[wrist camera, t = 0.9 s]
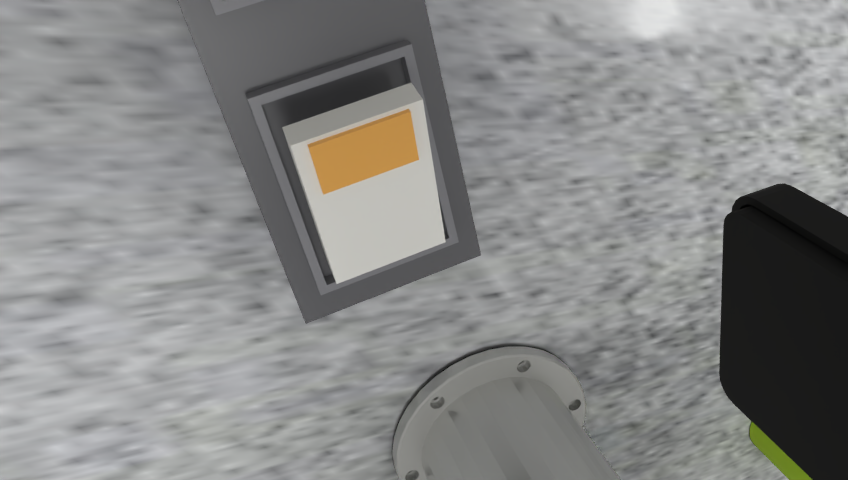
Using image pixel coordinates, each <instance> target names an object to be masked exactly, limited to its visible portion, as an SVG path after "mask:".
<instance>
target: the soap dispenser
mask: <svg viewBox="0 0 848 480" xmlns="http://www.w3.org/2000/svg"><path fill="white" fill-rule="evenodd" d="M750 439H751V441H752V442H753V444H754V445H755V446H756V447H757V448H758V449H759V450H760V451H761V452H762V453H763V454H764V455H765V456H766V457H767V458H768V459H769V460H770V461H771V462H772V463H773V464H774V465H775V466H776V467H777V468H778V469H779V470H780V471H781V472H782V473H783V474H784V475H785V476H786V477H787V478H788V479H789V480H812V479H811V478H810V477H809V476H808V475H807V474H806V473H805V472H804V471H803V470H802V469H801V468H800V467H799V466H798V465H797V464H796V463H795V462H794V461H793V460H792V459H791V458H789V457H788V456H787V455H786V454H785V453H784V452H783V451H782V450H781V449H780V448H779V447H778V446H777V445H776V444H775V443H774V442H773V441H772V440H771V439H770V438H769V437H768V436H767V435H766V434H765V433H764V432H762V431H761V430H760V429H759V428H758V427H757V426H756V425H755V424H754V423H753V422H752V423H751V426H750Z"/></svg>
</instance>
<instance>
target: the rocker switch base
mask: <svg viewBox="0 0 848 480" xmlns="http://www.w3.org/2000/svg"><path fill="white" fill-rule="evenodd" d="M177 1H178V3H179V6H180V8H181V11H182V13H183V16H184V18H185V21H186V23H187V26H188V28H189V31H190V33H191V36H192V38H193V41H194V43H195V46H196V48H197V51H198V53H199V56H200V58H201V61H202V64H203V66H204V69H205V71H206V74H207V76H208V79H209V81H210V84H211V86H212V89H213V91H214V94H215V96H216V99H217V101H218V104H219V106H220V109H221V111H222V114H223V116H224V119H225V121H226V124H227V126H228V129H229V131H230V134H231V137H232V139H233V142H234V144H235V147H236V149H237V152H238V154H239V157H240V159H241V162H242V164H243V167H244V169H245V172H246V174H247V177H248V179H249V182H250V184H251V187H252V189H253V192H254V194H255V197H256V199H257V202H258V205H259V207H260V210H261V212H262V215H263V217H264V220H265V222H266V225H267V227H268V230H269V232H270V235H271V237H272V240H273V242H274V245H275V247H276V250H277V252H278V255H279V257H280V260H281V262H282V265H283V267H284V270H285V272H286V275H287V278H288V280H289V283H290V285H291V288H292V290H293V293H294V295H295V298H296V300H297V303H298V305H299V308H300V310H301V313H302V315H303V318H304V320H305V323H309V322H311V321H314V320H316V319H319V318H321V317H324V316H327V315H329V314H332V313H334V312H337V311H339V310H342V309H344V308H347V307H350V306H352V305H355V304H357V303H360V302H362V301H365V300H367V299H370V298H373V297H375V296H378V295H380V294H383V293H385V292H388V291H390V290H393V289H396V288H398V287H401V286H403V285H406V284H408V283H411V282H413V281H416V280H419V279H421V278H424V277H426V276H429V275H431V274H434V273H436V272H439V271H442V270H444V269H447V268H449V267H452V266H454V265H457V264H459V263H462V262H465V261H467V260H470V259H472V258H475V257H477V256H480V255H481V253H480V249H479V244H478V240H477V235H476V231H475V226H474V222H473V217H472V212H471V208H470V203H469V199H468V194H467V190H466V185H465V181H464V176H463V172H462V167H461V163H460V158H459V154H458V149H457V145H456V140H455V136H454V131H453V127H452V122H451V118H450V113H449V109H448V104H447V100H446V95H445V91H444V86H443V82H442V77H441V73H440V68H439V64H438V59H437V54H436V50H435V45H434V41H433V36H432V32H431V27H430V23H429V18H428V14H427V9H426V5H425V0H177ZM409 83H412V84H413V86H414V87H415V89H416V90H417V92H418V93H419V94H420V96H421V97H422V99H423V104H424V110H425V116H426V122H427V129H428V135H429V141H430V147H431V153H432V160H433V166H434V172H435V178H436V185H437V191H438V197H439V203H440V210H441V216H442V222H443V228H444V235H445V241H446V242H445V243H442V244H440V245H437V246H434V247H432V248H429V249H427V250H424V251H421V252H419V253H416V254H414V255H411V256H408V257H406V258H403V259H401V260H398V261H396V262H393V263H390V264H388V265H385V266H383V267H380V268H377V269H375V270H372V271H370V272H367V273H364V274H362V275H359V276H357V277H354V278H351V279H349V280H346V281H344V282H341V283H338V284H336V281H335V279H334V276H333V274H332V272H331V269H330V267H329V264H328V261H327V258H326V255H325V252H324V250H323V247H322V244H321V241H320V238H319V235H318V232H317V229H316V226H315V223H314V220H313V217H312V214H311V211H310V208H309V205H308V202H307V199H306V196H305V193H304V190H303V188H302V185H301V182H300V179H299V176H298V173H297V170H296V167H295V164H294V161H293V158H292V155H291V152H290V149H289V146H288V143H287V140H286V137H285V134H284V131H283V128H282V127H284V126H287V125H290V124H293V123H296V122H299V121H302V120H305V119H307V118H310V117H313V116H316V115H319V114H322V113H325V112H328V111H331V110H333V109H336V108H339V107H342V106H345V105H348V104H351V103H354V102H357V101H359V100H362V99H365V98H368V97H371V96H374V95H377V94H380V93H383V92H385V91H388V90H391V89H394V88H397V87H400V86H403V85H406V84H409Z"/></svg>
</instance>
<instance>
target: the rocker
mask: <svg viewBox="0 0 848 480" xmlns="http://www.w3.org/2000/svg"><path fill="white" fill-rule="evenodd" d="M282 128H283V131H284V134H285V137H286V140H287V143H288V146H289V149H290V152H291V155H292V158H293V161H294V164H295V167H296V170H297V173H298V176H299V179H300V182H301V185H302V188H303V190H304V193H305V196H306V199H307V202H308V205H309V208H310V211H311V214H312V217H313V220H314V223H315V226H316V229H317V232H318V235H319V238H320V241H321V244H322V247H323V250H324V252H325V255H326V258H327V261H328V264H329V267H330V269H331V272H332V274H333V276H334V279H335V281H336V284H338V283H341V282H344V281H346V280H349V279H351V278H354V277H357V276H359V275H362V274H364V273H367V272H370V271H372V270H375V269H377V268H380V267H383V266H385V265H388V264H390V263H393V262H396V261H398V260H401V259H403V258H406V257H408V256H411V255H414V254H416V253H419V252H421V251H424V250H427V249H429V248H432V247H434V246H437V245H440V244H442V243H445V242H446V241H445V235H444V228H443V222H442V216H441V210H440V203H439V197H438V191H437V185H436V178H435V172H434V166H433V160H432V153H431V147H430V141H429V135H428V129H427V122H426V116H425V110H424V104H423V99H422V97H421V96H420V94H419V93H418V92H417V90H416V89H415V87H414V86H413V84H412V83H409V84H406V85H403V86H400V87H397V88H394V89H391V90H388V91H385V92H383V93H380V94H377V95H374V96H371V97H368V98H365V99H362V100H359V101H357V102H354V103H351V104H348V105H345V106H342V107H339V108H336V109H333V110H331V111H328V112H325V113H322V114H319V115H316V116H313V117H310V118H307V119H305V120H302V121H299V122H296V123H293V124H290V125H287V126H284V127H282Z"/></svg>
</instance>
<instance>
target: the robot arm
mask: <svg viewBox="0 0 848 480" xmlns="http://www.w3.org/2000/svg"><path fill="white" fill-rule="evenodd" d="M719 374H720V381H721V384H722V387H723V389H724V391H725V393H726V395H727V396H728V398H729V399H730V400H731V401H732V403H733V404H734V405H735V406H737V407H738V408H739V409H740V410H741V411H742V412H743V413H744V414H745V415H746V416H747V417H748V418H749V419H750V420H751V421H752V422H753V423H754V424H755V425H756V426H757V427H758V428H759V429H760V430H761V431H762V432H764V433H765V434H766V435H767V436H768V437H769V438H770V439H771V440H772V441H773V442H774V443H775V444H776V445H777V446H778V447H779V448H780V449H781V450H782V451H783V452H784V453H785V454H786V455H787V456H788V457H789V458H791V459H792V460H793V461H794V462H795V463H796V464H797V465H798V466H799V467H800V468H801V469H802V470H803V471H804V472H805V473H806V474H807V475H808V476H809V477H810V478H811V479H812V480H848V217H847V216H846V215H844V214H842V213H840V212H838V211H836V210H835V209H833V208H831V207H829V206H827V205H825V204H824V203H822V202H820V201H818V200H816V199H814V198H813V197H811V196H809V195H807V194H805V193H803V192H802V191H800V190H798V189H796V188H794V187H792V186H790V185H787V184H776V185H774V186H771V187H768V188H765V189H762V190H759V191H756V192H753V193H750V194H747V195H745V196H742V197H740V198H739V199H737V200H736V201H735V203H734V205H733V207H732V212H731V213H729V214H728V215H727V216H726V218H725V220H724V230H723V265H722V300H721V335H720V370H719ZM585 410H586V401H585V397H584V392H583V389H582V387H581V385H580V383H579V381H578V379H577V377H576V376H575V375H574V374H573V372H572V371H571V370H570V369H569V367H568V366H567V365H566V364H565V363H564V362H562V361H561V360H560V359H559V358H557V357H556V356H554V355H552V354H550V353H548V352H546V351H543V350H540V349H535V348H530V347H502V348H496V349H490V350H487V351H484V352H481V353H478V354H475V355H472V356H469V357H467V358H465V359H463V360H461V361H459V362H457V363H455V364H453V365H452V366H450V367H449V368H447V369H446V370H444V371H443V372H441V373H440V374H438V375H437V376H436V377H434V378H433V379H432V380H431V381H430V382H429V383H428V384H427V385H426V386H425V387H424V388H422V389H421V390H420V391H419V393H418V394H417V395H416V396H415V398H414V399H413V400H412V402H411V403H410V404H409V405H408V407H407V409H406V410H405V412H404V414H403V416H402V418H401V419H400V421H399V424H398V427H397V430H396V433H395V436H394V442H393V451H392V454H393V461H394V468H395V470H396V473H397V475H398V478H399V480H621V479H620V478H619V477H618V475H617V474H616V472H615V471H614V470H613V468H612V467H611V466H610V464H609V463H608V462H607V460H606V459H605V458H604V456H603V455H602V454H601V452H600V451H599V450H598V448H597V447H596V445H595V444H594V443H593V441H592V440H591V439H590V437H589V436H588V435H587V433H586V432H585V431H584V429H583V424H584V420H585Z"/></svg>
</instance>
